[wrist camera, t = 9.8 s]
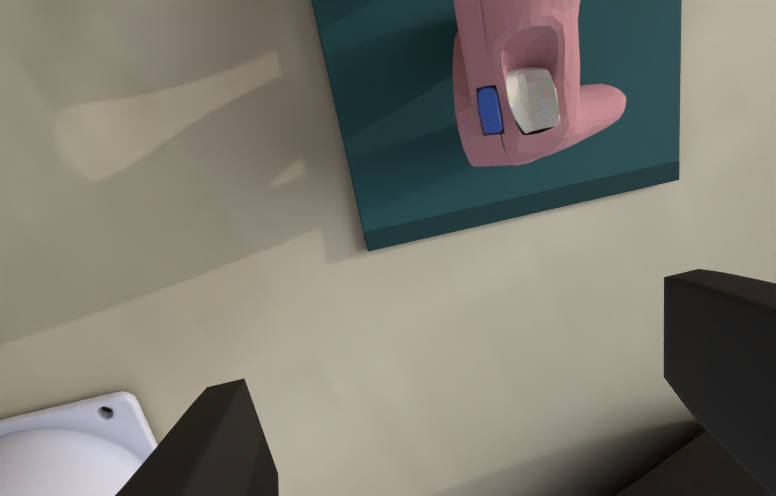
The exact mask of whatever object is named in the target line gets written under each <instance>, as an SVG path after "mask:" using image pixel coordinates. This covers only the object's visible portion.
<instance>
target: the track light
mask: <svg viewBox="0 0 776 496" xmlns="http://www.w3.org/2000/svg"><path fill="white" fill-rule="evenodd" d="M616 496H771V495H770V494H769V493H768V492H767V491H766V490H765V489H764V488H763V487H762V486H761V485H760V484H759V483H758V482H757V481H756V480H755V479H754V478H753V477H752V476H751V475H750V474H748V473H747V472H746V471H745V470H744V469H743V468H742V467H741V466H740V465H739V464H738V463H737V462H736V461H735V460H734V458H733V457H732V456H731V455H730V454H729V453H728V452H727V451H726V450H725V449H724V448H723V447H722V446H721V445H720V444H719V443H718V442H717V441H716V440H715V439H714V438H713V437H712V436H711V435H710V434H709V433H708V432H707V431H705V432H704V433H702V434H701V435H700V436H698V437H697V438H695V439H694V440H693V441H691V442H690V443H688V444H687V445H686V446H684V447H683V448H681V449H680V450H679V451H677V452H676V453H674V454H673V455H672V456H670V457H669V458H667V459H666V460H665V461H663V462H662V463H660V464H659V465H658V466H656V467H655V468H653V469H652V470H651V471H649V472H648V473H646V474H645V475H644V476H642V477H641V478H639V479H638V480H637V481H635V482H634V483H632V484H631V485H630V486H628V487H627V488H625V489H624V490H623V491H621V492H620V493H618V494H617V495H616Z"/></svg>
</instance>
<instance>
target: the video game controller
mask: <svg viewBox="0 0 776 496" xmlns="http://www.w3.org/2000/svg"><path fill="white" fill-rule="evenodd" d="M579 4H580V0H454V7H455V13H456V20H457V25H458V32H457V34H456V37H455V40H454V51H453V88H454V102H455V113H456V119H457V124H458V130H459V134H460V138H461V141H462V145H463V149H464V151H465V154H466V156H467V158H468V161H469V162H470V164H471V165H472V166H473V167H482V166H510V165H514V166H517V165H521V164H526V163H530V162H532V161H534V160H537V159H539V158H541V157H544V156H548V155H551V154H553V153H556V152H558V151H561V150H563V149H565V148H568V147H570V146H572V145H574V144H576V143H578V142H580V141H582V140H584V139H586V138H588V137H590V136H592V135H594V134H596V133H597V132H599V131H601V130H603V129H605V128H607V127H608V126H610V125H611V124H613V123H614V122H615V121H617V120H618V119H619V118H620V117H621V115H622V114H623V112H624V110H625V105H626V96H625V95H624V94H623V93H622V92H621V91H620V90H619V89H617V88H615V87H612V86H610V85H605V84H590V85H580V54H579V36H578V13H579Z"/></svg>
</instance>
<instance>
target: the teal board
mask: <svg viewBox="0 0 776 496" xmlns="http://www.w3.org/2000/svg"><path fill="white" fill-rule="evenodd" d="M312 4H313V9H314V13H315V18H316V22H317V27H318V31H319V36H320V40H321V45H322V49H323V53H324V58H325V62H326V67H327V71H328V76H329V80H330V85H331V89H332V94H333V98H334V102H335V107H336V111H337V116H338V120H339V125H340V129H341V134H342V138H343V143H344V147H345V152H346V156H347V160H348V165H349V169H350V174H351V178H352V183H353V187H354V192H355V196H356V201H357V205H358V210H359V214H360V218H361V223H362V227H363V232H364V236H365V241H366V245H367V249H368V251H372V250H376V249H381V248H385V247H389V246H394V245H398V244H402V243H407V242H411V241H415V240H420V239H424V238H428V237H433V236H437V235H441V234H446V233H450V232H454V231H459V230H463V229H467V228H472V227H476V226H480V225H485V224H489V223H493V222H498V221H502V220H506V219H511V218H515V217H519V216H524V215H528V214H532V213H537V212H541V211H545V210H550V209H554V208H558V207H563V206H567V205H571V204H576V203H580V202H584V201H589V200H593V199H597V198H602V197H606V196H610V195H615V194H619V193H623V192H628V191H632V190H636V189H641V188H645V187H649V186H654V185H658V184H662V183H667V182H671V181H675V180H679V133H680V64H681V0H580V4H579V13H578V36H579V54H580V85H590V84H605V85H610V86H612V87H615V88H617V89H619V90H620V91H621V92H622V93H623V94H624V95H625V96H626V105H625V110H624V112H623V114H622V115H621V117H620V118H619V119H618V120H617V121H615V122H614V123H613V124H611V125H610V126H608V127H607V128H605V129H603V130H601V131H599V132H597V133H596V134H594V135H592V136H590V137H588V138H586V139H584V140H582V141H580V142H578V143H576V144H574V145H572V146H570V147H568V148H565V149H563V150H561V151H558V152H556V153H553V154H551V155H548V156H544V157H541V158H539V159H537V160H534V161H532V162H530V163H526V164H521V165H517V166H514V165H510V166H482V167H473V166H472V165H471V164H470V162H469V161H468V158H467V156H466V154H465V151H464V149H463V145H462V141H461V138H460V134H459V130H458V124H457V119H456V113H455V102H454V88H453V51H454V40H455V37H456V34H457V32H458V25H457V20H456V13H455V7H454V0H312Z"/></svg>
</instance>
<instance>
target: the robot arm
mask: <svg viewBox="0 0 776 496" xmlns="http://www.w3.org/2000/svg"><path fill="white" fill-rule="evenodd" d="M664 378H665V379H666V380H667V382H668V383H669V384H670V386H671V387H672V389H673V390H674V391H675V393H676V394H677V395H678V397H679V398H680V399H681V401H682V402H683V403H684V405H685V406H686V407H687V408H688V410H689V411H690V412H691V413H692V415H693V416H694V417H695V418H696V420H697V421H698V422H699V423H700V425H701V426H702V427H703V428H704V429H705V430H706V431H707V432H708V433H709V434H710V435H711V436H712V437H713V438H714V439H715V440H716V441H717V442H718V443H719V444H720V445H721V446H722V447H723V448H724V449H725V450H726V451H727V452H728V453H729V454H730V455H731V456H732V457H733V458H734V460H735V461H736V462H737V463H738V464H739V465H740V466H741V467H742V468H743V469H744V470H745V471H746V472H747V473H748V474H750V475H751V476H752V477H753V478H754V479H755V480H756V481H757V482H758V483H759V484H760V485H761V486H762V487H763V488H764V489H765V490H766V491H767V492H768V493H769V494H770V495H771V496H776V284H775V283H771V282H766V281H762V280H757V279H753V278H748V277H743V276H738V275H733V274H728V273H723V272H717V271H710V270H702V269H697V270H692V271H688V272H684V273H680V274H676V275H672V276H667V277H664ZM101 407H108V408H110V409H111V410H112V411H113V412H106V411H104V410H103V409H102V408H101ZM0 496H279V491H278V472H277V469H276V467H275V464H274V461H273V458H272V455H271V452H270V450H269V447H268V444H267V441H266V438H265V435H264V433H263V430H262V427H261V424H260V421H259V419H258V416H257V413H256V410H255V407H254V404H253V402H252V399H251V396H250V393H249V390H248V387H247V385H246V382H245V379H240V380H236V381H232V382H228V383H223V384H219V385H215V386H211V387H207V388H206V389H205V390H204V391H203V392H202V394H201V395H200V396H199V397H198V398H197V399H196V400H195V401H194V403H193V404H192V405H191V406H190V407H189V408H188V410H187V411H186V412H185V413H184V414H183V416H182V417H181V418H180V419H179V421H178V422H177V423H176V424H175V425H174V427H173V428H172V429H171V430H170V431H169V433H168V434H167V435H166V436H165V438H164V439H163V440H162V441H161V442H160V444H159V445H157V442H156V440H155V438H154V436H153V434H152V431H151V429H150V427H149V425H148V423H147V420H146V418H145V416H144V414H143V412H142V409H141V407H140V405H139V403H138V401H137V399H136V398H135V396H134V395H132V394H131V393H128V392H124V391H121V392H114V393H110V394H106V395H102V396H98V397H93V398H89V399H85V400H81V401H77V402H73V403H68V404H64V405H60V406H56V407H52V408H47V409H43V410H39V411H35V412H31V413H27V414H22V415H18V416H14V417H10V418H6V419H1V420H0Z"/></svg>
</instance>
